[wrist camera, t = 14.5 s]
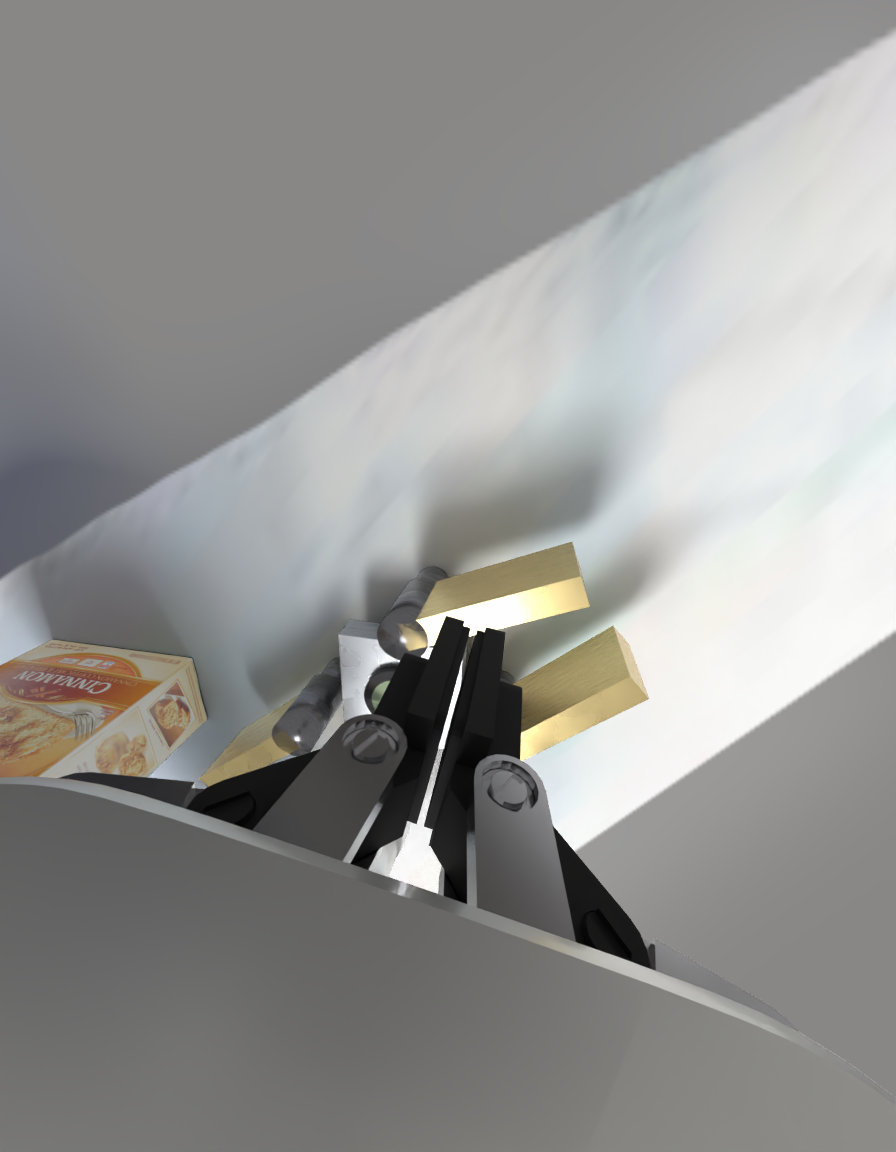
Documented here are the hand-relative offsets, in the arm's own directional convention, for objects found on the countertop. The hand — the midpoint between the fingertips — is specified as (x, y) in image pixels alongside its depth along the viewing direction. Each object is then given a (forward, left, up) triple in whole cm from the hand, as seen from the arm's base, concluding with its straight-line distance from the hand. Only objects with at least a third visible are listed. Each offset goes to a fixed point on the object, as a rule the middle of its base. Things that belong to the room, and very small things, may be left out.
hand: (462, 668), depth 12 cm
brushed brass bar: (-10, -4, -16) cm, 19 cm away
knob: (-16, +15, -16) cm, 27 cm away
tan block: (-3, +1, -16) cm, 17 cm away
